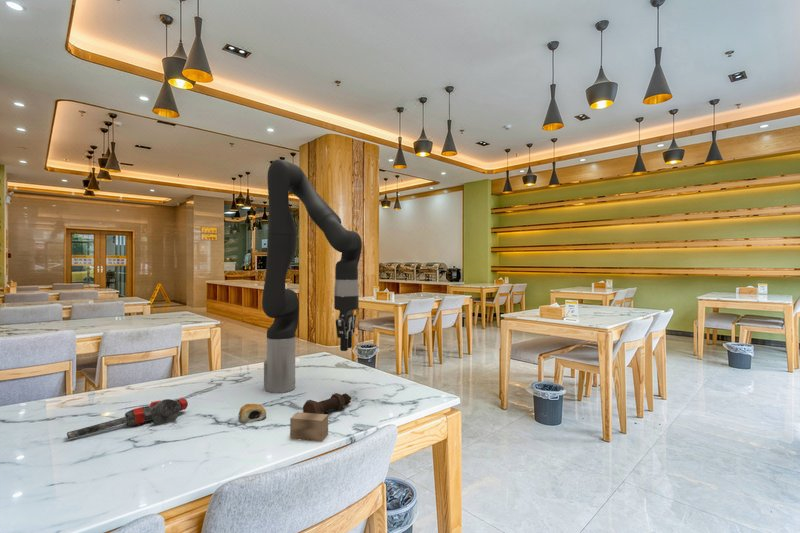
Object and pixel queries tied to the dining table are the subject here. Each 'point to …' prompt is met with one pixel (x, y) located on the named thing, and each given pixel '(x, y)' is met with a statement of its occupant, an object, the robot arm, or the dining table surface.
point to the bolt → (327, 404)
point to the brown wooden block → (309, 426)
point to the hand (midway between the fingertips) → (346, 349)
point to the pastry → (252, 413)
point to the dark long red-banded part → (140, 416)
